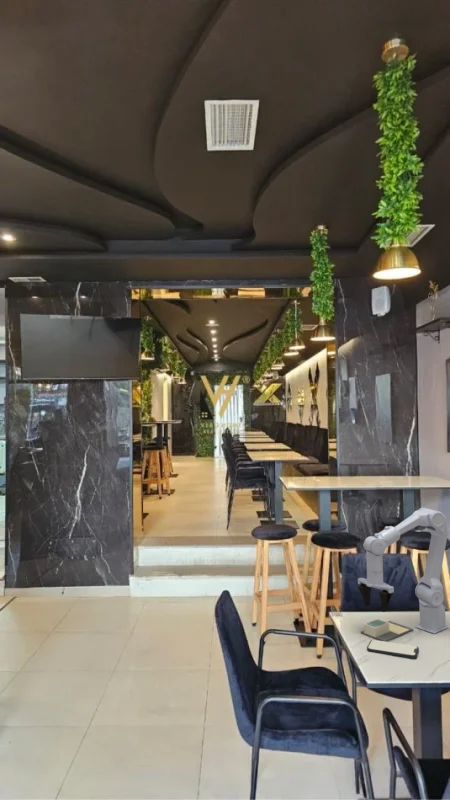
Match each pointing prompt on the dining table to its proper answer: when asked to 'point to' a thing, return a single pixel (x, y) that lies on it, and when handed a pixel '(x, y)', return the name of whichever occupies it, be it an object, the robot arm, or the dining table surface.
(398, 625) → the mat
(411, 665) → the dining table surface
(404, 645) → the phone case
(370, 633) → the card box
